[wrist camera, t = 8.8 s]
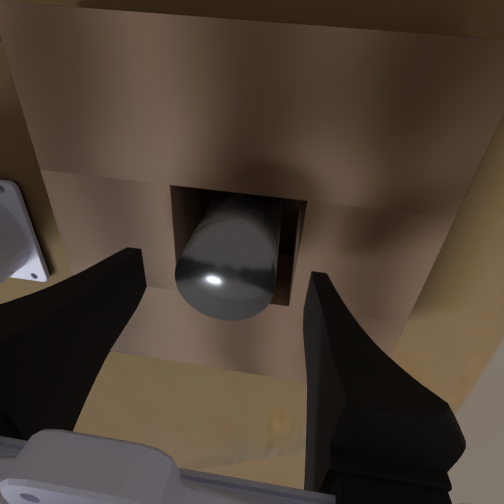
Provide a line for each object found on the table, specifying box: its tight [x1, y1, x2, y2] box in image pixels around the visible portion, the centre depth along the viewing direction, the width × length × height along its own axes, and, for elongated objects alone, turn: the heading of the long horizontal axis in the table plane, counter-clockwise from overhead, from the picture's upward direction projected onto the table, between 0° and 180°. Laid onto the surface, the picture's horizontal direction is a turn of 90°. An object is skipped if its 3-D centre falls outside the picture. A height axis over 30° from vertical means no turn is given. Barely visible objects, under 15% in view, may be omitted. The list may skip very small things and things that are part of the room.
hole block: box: [0, 1, 504, 382], centre depth 17 cm, size 18×18×5 cm
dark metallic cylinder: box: [175, 191, 283, 321], centre depth 16 cm, size 4×4×8 cm
